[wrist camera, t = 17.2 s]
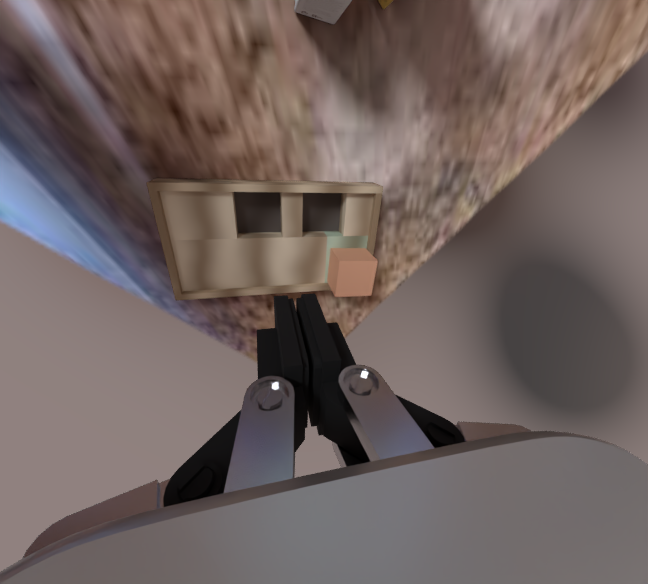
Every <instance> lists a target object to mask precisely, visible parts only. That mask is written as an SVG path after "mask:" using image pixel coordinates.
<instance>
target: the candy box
mask: <svg viewBox="0 0 648 584" xmlns="http://www.w3.org/2000/svg"><path fill="white" fill-rule="evenodd" d="M392 1H393V0H378V2H379V3H380V5H381V7H382V9H385V8H386V7H387V6H388V5H389V4H390V3H391V2H392Z"/></svg>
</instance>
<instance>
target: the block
mask: <svg viewBox="0 0 648 584" xmlns="http://www.w3.org/2000/svg"><path fill="white" fill-rule="evenodd" d="M377 264H378V260H377V259H376V258H375V257H374V256H373V255H372V254H371V253H370V252H369V251H368V250H367V249H366V248H330V258H329V268H328V277H327V282H328V284H329V286H330V288H331V290H332V292H333V294H334V296H335V297H350V296H371V294H372V289H373V284H374V279H375V274H376V269H377Z"/></svg>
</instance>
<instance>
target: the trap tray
mask: <svg viewBox="0 0 648 584" xmlns="http://www.w3.org/2000/svg"><path fill="white" fill-rule="evenodd" d="M147 187H148V191H149V195H150V199H151V203H152V207H153V211H154V215H155V219H156V223H157V227H158V231H159V235H160V239H161V243H162V247H163V251H164V255H165V259H166V263H167V267H168V271H169V275H170V279H171V283H172V287H173V291H174V295H175V299H176V300H189V299H204V298H219V297H234V296H249V295H264V294H279V293H294V292H308V291H323V290H331V288H330V286H329V284H328V282H327V277H328V268H329V258H330V248H366V249H367V250H368V251H369V252H370V253H371V254H372V255H373V254H374V247H375V240H376V234H377V227H378V220H379V213H380V206H381V199H382V192H383V186H380V185H378V184H376V183H370V182H320V181H271V180H222V179H172V178H155V179H153V180H151V181H149V182H147Z"/></svg>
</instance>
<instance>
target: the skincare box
mask: <svg viewBox="0 0 648 584" xmlns="http://www.w3.org/2000/svg"><path fill="white" fill-rule="evenodd" d="M351 1H352V0H295V12H297V13H300V14H303V15H306V16H309V17H312V18H315V19H318V20H321V21H324V22H327V23H330V24H335V23H336V21H337V20H338V19H339V17H340V16H341V15H342V13H343V12H344V11H345V9H346V8H347V7H348V5H349V4H350V3H351Z"/></svg>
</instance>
